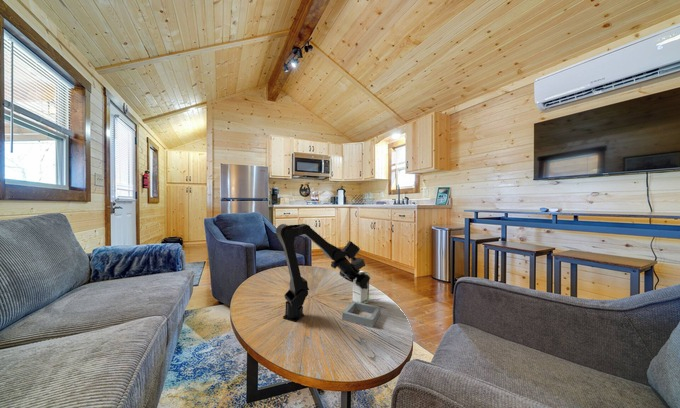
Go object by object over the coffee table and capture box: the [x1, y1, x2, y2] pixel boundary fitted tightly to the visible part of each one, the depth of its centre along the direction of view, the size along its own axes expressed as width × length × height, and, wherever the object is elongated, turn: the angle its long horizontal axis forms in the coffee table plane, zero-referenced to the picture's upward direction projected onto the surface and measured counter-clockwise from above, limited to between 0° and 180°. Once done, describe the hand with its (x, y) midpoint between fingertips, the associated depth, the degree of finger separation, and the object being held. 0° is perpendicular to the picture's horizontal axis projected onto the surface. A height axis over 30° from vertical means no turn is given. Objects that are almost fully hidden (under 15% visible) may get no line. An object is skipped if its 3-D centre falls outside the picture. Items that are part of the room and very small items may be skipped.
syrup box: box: [352, 270, 370, 304], centre depth 120 cm, size 6×6×14 cm
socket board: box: [341, 300, 382, 328], centre depth 105 cm, size 13×13×3 cm
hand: (363, 286), depth 121 cm, fingers closed on syrup box, 6 cm apart
